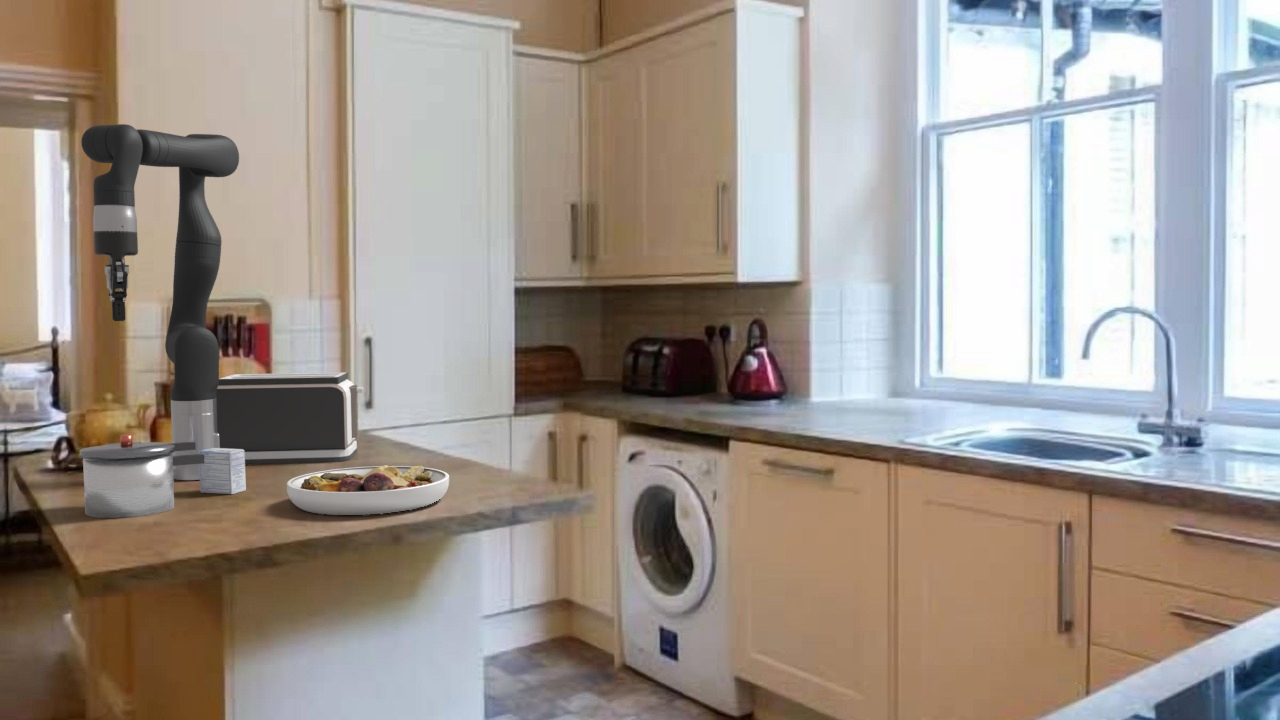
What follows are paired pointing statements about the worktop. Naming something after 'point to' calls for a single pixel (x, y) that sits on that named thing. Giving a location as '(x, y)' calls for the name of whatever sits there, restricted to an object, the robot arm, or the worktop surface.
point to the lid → (133, 449)
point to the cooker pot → (131, 485)
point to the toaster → (288, 417)
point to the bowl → (367, 489)
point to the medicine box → (223, 471)
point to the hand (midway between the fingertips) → (118, 320)
